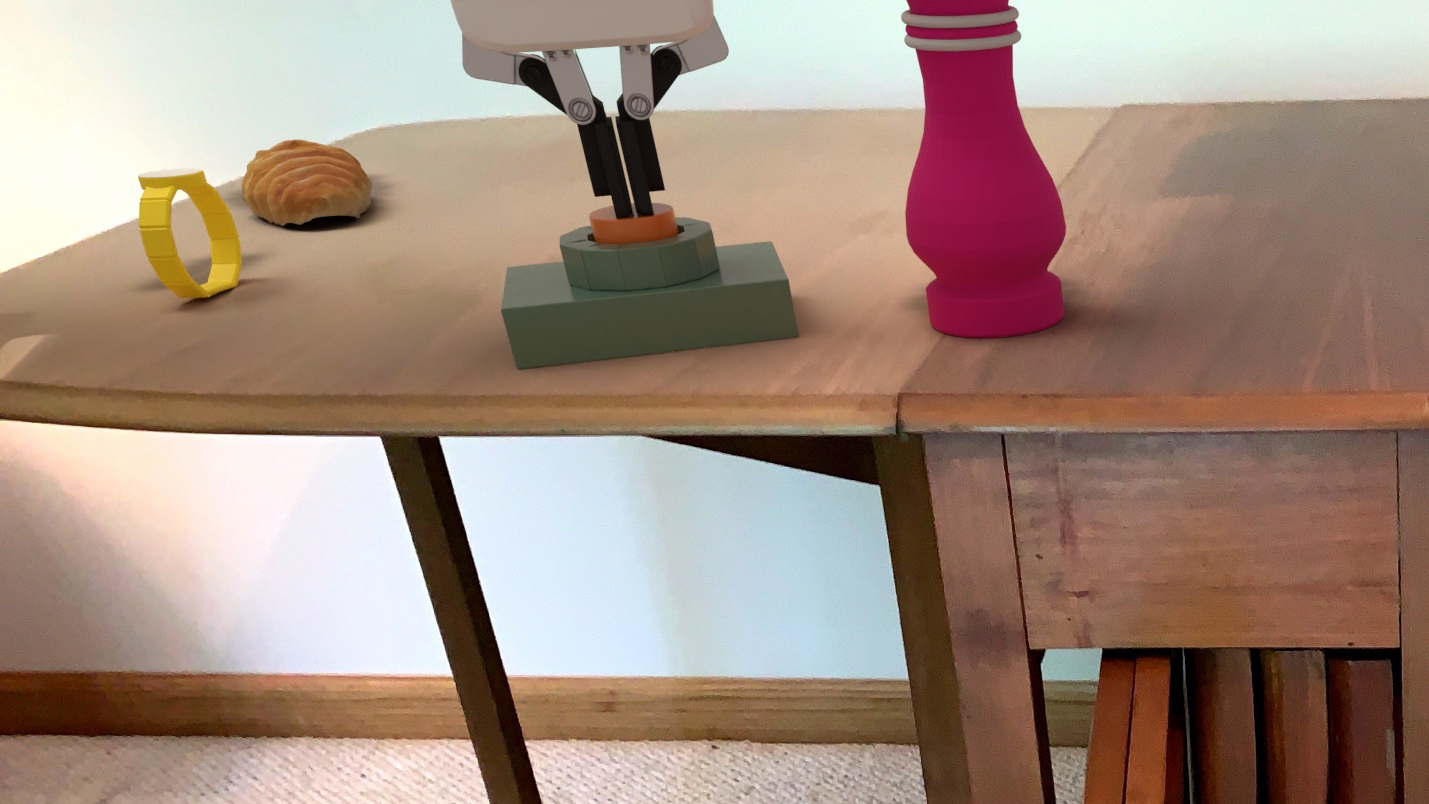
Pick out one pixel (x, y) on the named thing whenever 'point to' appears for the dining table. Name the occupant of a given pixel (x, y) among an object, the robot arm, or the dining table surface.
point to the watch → (161, 240)
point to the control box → (645, 298)
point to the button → (633, 225)
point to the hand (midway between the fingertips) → (634, 209)
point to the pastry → (305, 183)
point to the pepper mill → (979, 178)
